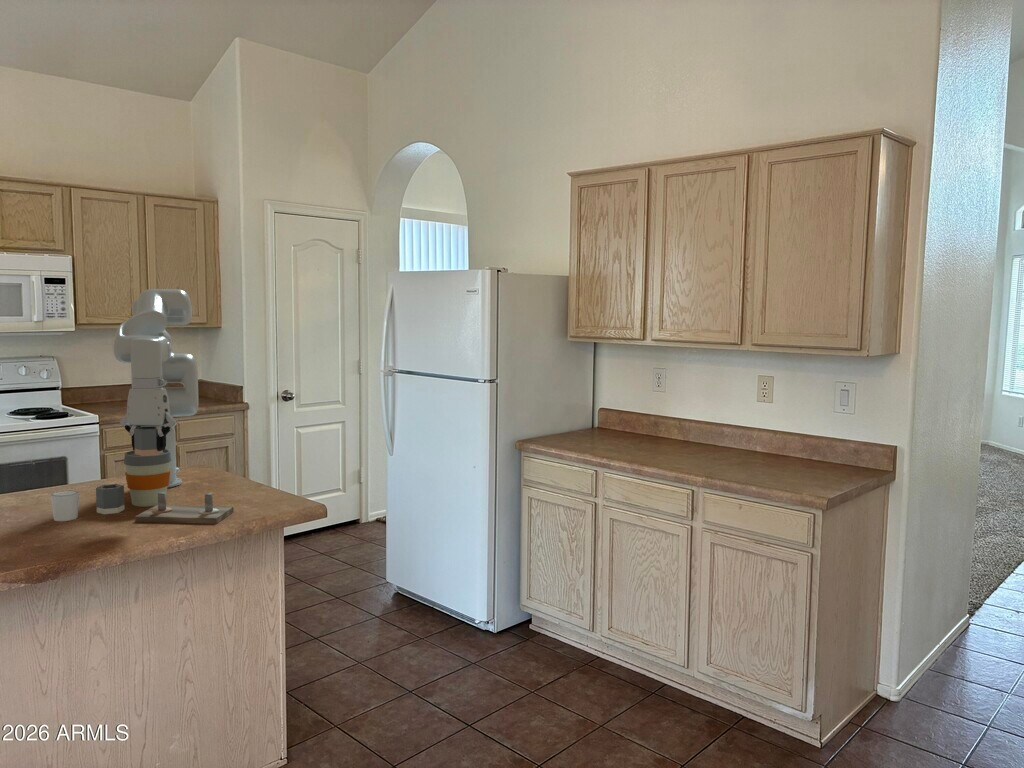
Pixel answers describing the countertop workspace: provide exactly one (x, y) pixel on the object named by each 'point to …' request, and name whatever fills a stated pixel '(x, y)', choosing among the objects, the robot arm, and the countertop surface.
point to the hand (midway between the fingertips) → (149, 449)
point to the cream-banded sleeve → (110, 498)
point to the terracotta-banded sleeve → (146, 440)
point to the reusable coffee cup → (147, 476)
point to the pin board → (184, 512)
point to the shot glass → (65, 505)
